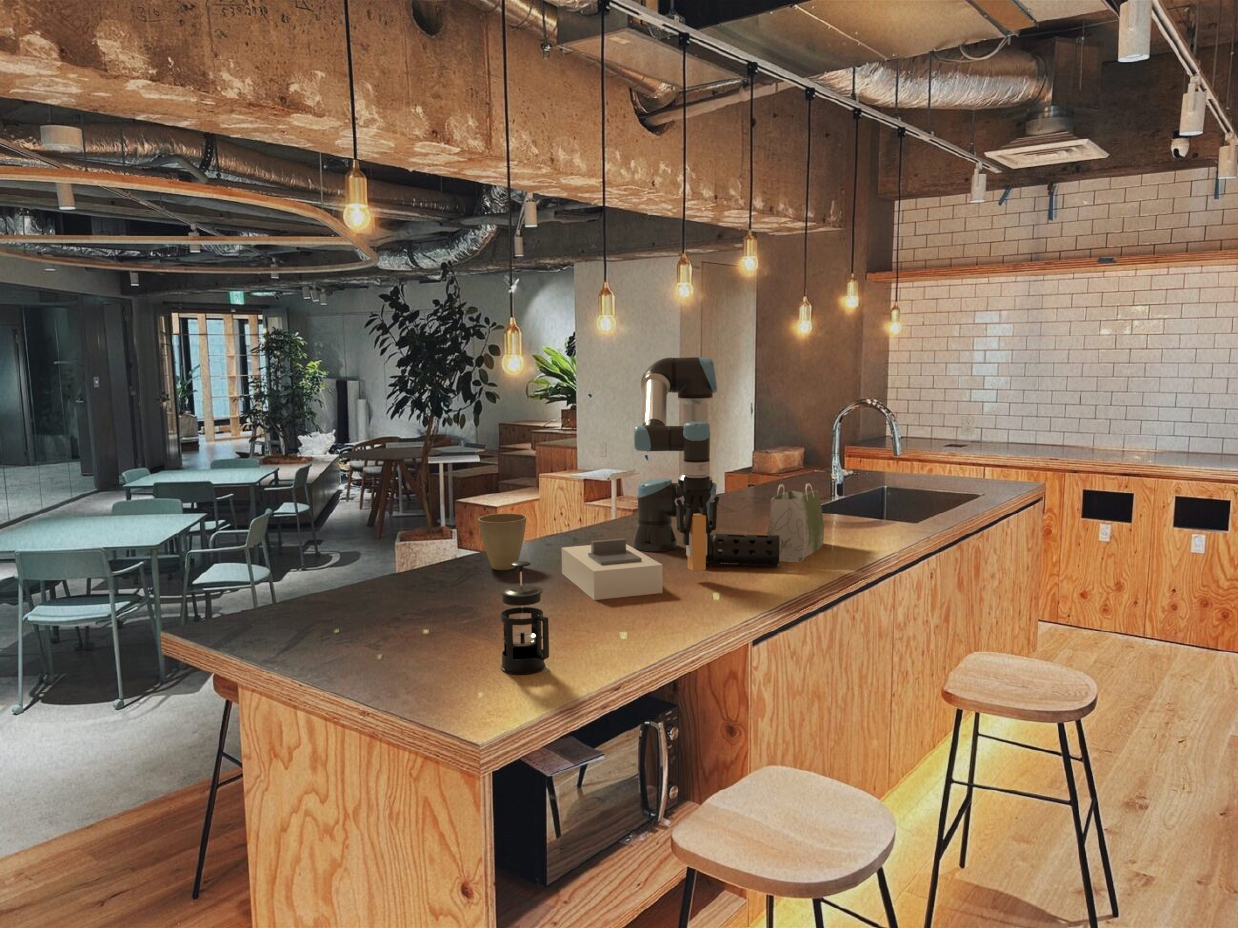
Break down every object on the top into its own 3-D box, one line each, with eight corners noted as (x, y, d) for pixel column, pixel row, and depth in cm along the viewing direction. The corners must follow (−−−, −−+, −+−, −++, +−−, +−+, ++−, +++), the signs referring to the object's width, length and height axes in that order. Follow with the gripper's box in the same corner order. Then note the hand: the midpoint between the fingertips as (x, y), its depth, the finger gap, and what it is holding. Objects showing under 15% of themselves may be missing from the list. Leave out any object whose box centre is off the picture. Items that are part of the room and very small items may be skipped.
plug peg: (687, 567, 264) (687, 514, 262) (700, 566, 266) (700, 513, 263) (693, 571, 261) (693, 516, 258) (705, 569, 262) (705, 515, 260)
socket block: (561, 573, 274) (561, 547, 273) (623, 567, 281) (623, 542, 280) (594, 599, 244) (593, 571, 244) (662, 592, 251) (662, 564, 250)
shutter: (588, 555, 261) (587, 541, 261) (627, 552, 265) (626, 537, 265) (601, 564, 250) (600, 549, 250) (641, 560, 254) (641, 546, 254)
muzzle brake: (778, 571, 275) (778, 537, 274) (687, 567, 281) (687, 535, 279) (779, 564, 284) (779, 531, 283) (691, 560, 290) (691, 529, 289)
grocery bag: (786, 540, 319) (786, 475, 316) (825, 543, 313) (826, 477, 310) (760, 559, 290) (761, 488, 287) (803, 563, 284) (804, 491, 281)
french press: (489, 669, 192) (486, 563, 189) (517, 656, 200) (514, 554, 197) (533, 679, 185) (530, 570, 183) (560, 666, 193) (558, 561, 190)
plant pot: (489, 561, 291) (487, 512, 289) (533, 562, 288) (532, 513, 286) (472, 572, 277) (471, 521, 275) (518, 574, 274) (517, 522, 272)
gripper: (674, 479, 253) (674, 560, 256) (729, 475, 259) (728, 555, 262) (664, 475, 260) (664, 554, 263) (717, 472, 266) (717, 549, 269)
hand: (696, 554), depth 263 cm, fingers closed on plug peg, 4 cm apart
